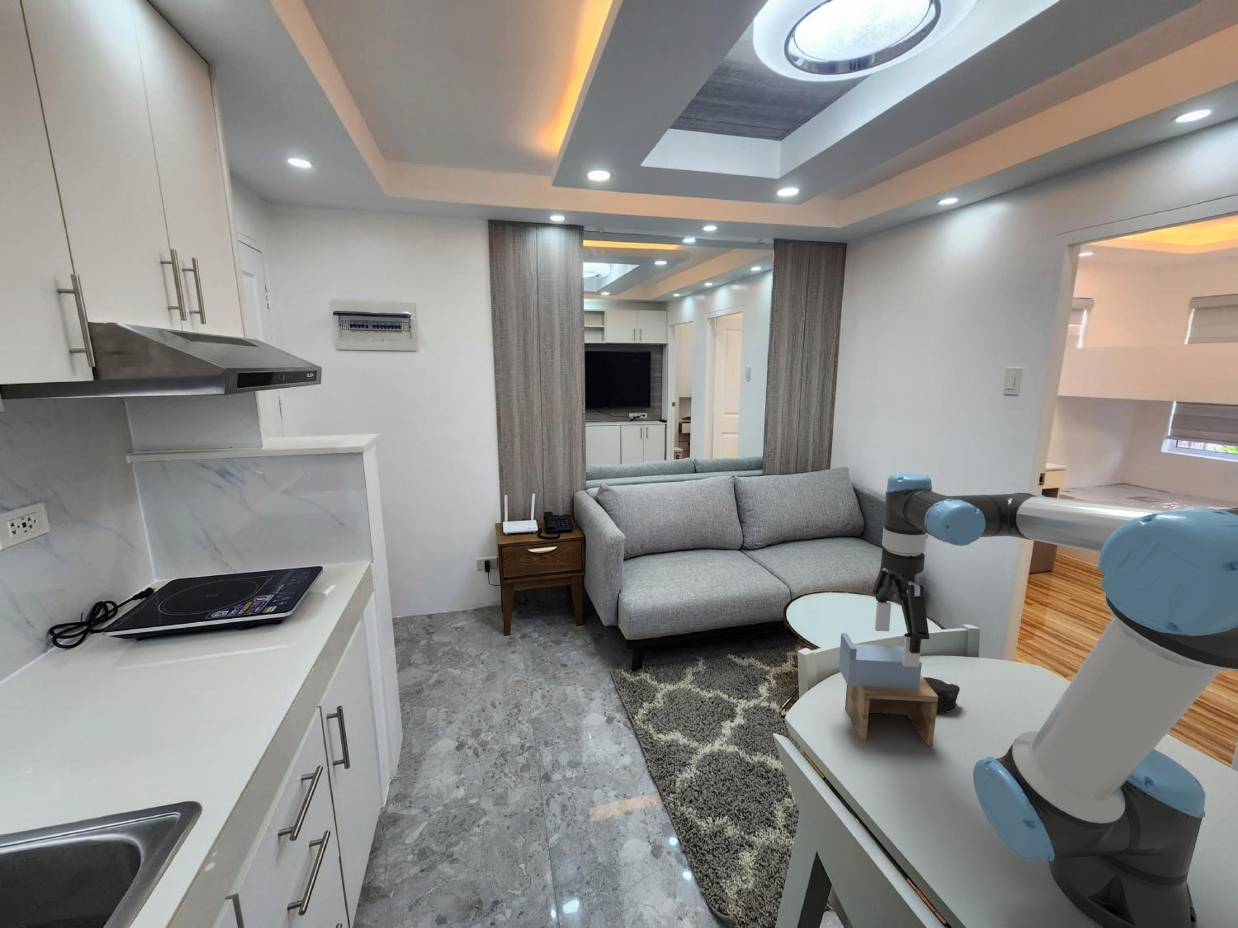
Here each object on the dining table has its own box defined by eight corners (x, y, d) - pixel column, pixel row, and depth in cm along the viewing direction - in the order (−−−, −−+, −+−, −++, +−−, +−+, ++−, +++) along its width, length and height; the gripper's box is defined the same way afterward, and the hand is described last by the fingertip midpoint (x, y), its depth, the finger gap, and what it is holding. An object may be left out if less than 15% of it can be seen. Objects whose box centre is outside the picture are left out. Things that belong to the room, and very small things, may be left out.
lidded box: (847, 685, 103) (850, 648, 101) (838, 668, 109) (841, 633, 107) (919, 689, 101) (923, 651, 100) (905, 671, 107) (909, 635, 106)
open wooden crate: (932, 744, 101) (938, 696, 99) (861, 740, 103) (865, 692, 101) (909, 711, 111) (914, 666, 109) (845, 708, 112) (848, 663, 110)
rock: (949, 727, 106) (952, 703, 105) (902, 708, 112) (905, 685, 111) (958, 704, 113) (961, 682, 112) (913, 688, 119) (916, 666, 118)
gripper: (958, 574, 86) (946, 684, 90) (895, 530, 111) (888, 618, 114) (912, 573, 87) (903, 682, 91) (860, 530, 112) (855, 617, 115)
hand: (895, 646), depth 103 cm, fingers open, 13 cm apart
